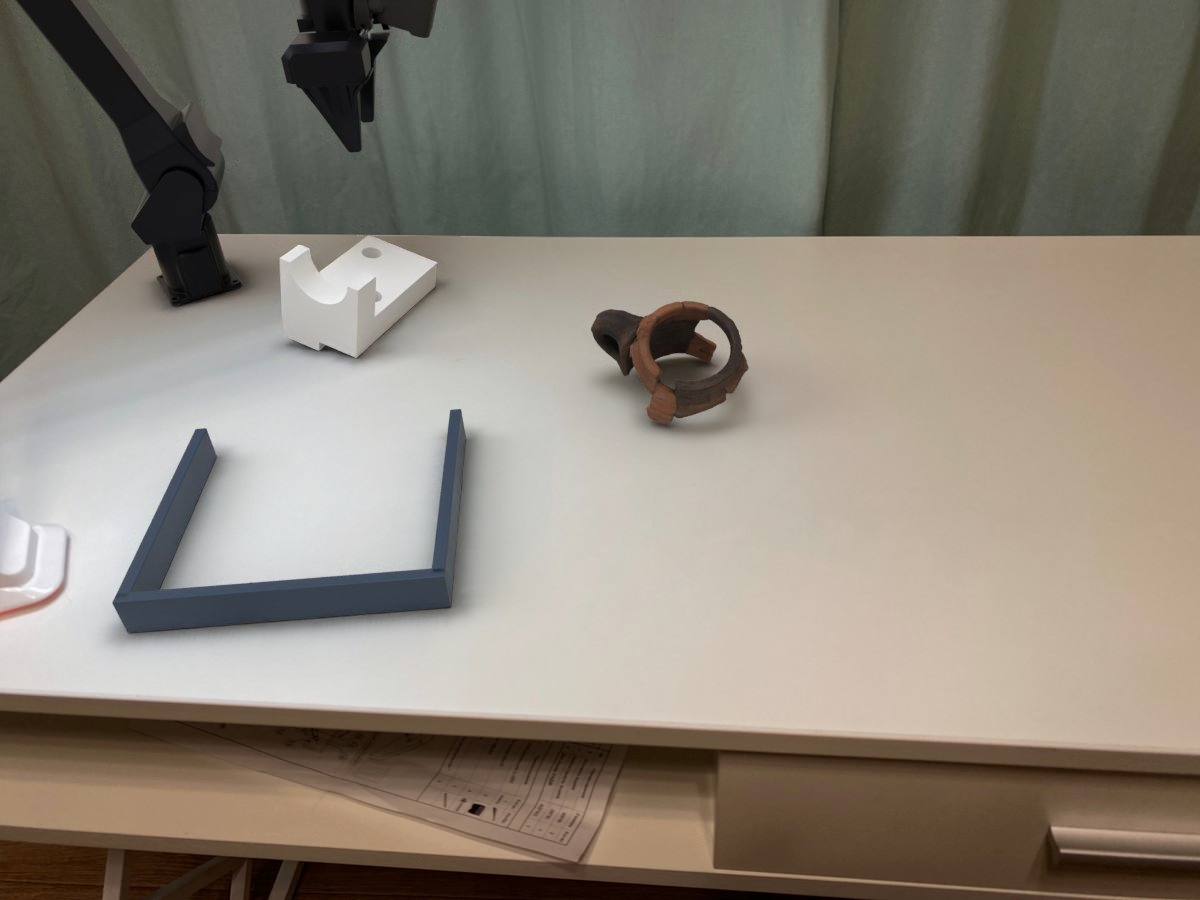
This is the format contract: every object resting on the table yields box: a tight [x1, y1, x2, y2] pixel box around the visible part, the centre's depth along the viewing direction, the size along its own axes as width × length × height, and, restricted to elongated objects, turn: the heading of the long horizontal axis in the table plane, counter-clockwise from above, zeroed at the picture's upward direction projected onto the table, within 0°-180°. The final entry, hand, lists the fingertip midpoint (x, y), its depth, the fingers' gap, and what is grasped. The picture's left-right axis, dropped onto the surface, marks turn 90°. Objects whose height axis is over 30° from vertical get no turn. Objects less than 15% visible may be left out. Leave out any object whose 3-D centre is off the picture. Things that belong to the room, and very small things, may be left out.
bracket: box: [279, 234, 438, 359], centre depth 81 cm, size 13×7×8 cm, turn 158°
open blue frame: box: [111, 408, 467, 634], centre depth 60 cm, size 17×19×2 cm
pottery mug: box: [590, 300, 750, 426], centre depth 70 cm, size 12×10×8 cm
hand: (362, 136), depth 85 cm, fingers open, 8 cm apart
